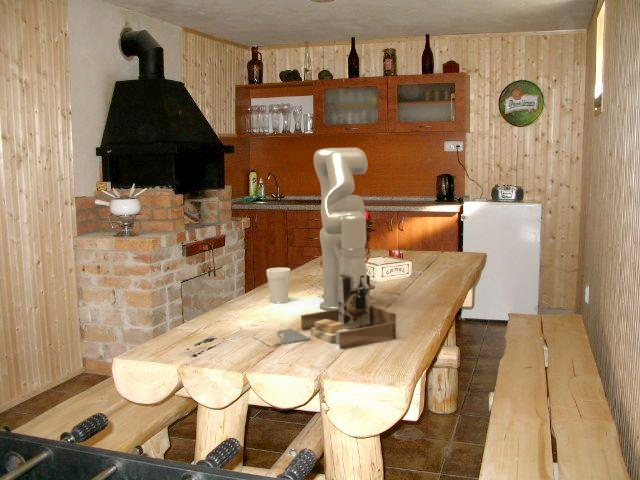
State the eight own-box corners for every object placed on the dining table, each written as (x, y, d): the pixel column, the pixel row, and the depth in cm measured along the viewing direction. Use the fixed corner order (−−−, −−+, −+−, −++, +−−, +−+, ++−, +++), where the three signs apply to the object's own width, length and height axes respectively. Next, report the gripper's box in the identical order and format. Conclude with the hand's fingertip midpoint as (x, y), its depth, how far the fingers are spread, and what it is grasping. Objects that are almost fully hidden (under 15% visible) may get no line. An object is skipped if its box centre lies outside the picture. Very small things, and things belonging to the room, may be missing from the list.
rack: (301, 329, 218) (300, 306, 217) (352, 320, 228) (351, 298, 226) (341, 349, 195) (340, 323, 194) (395, 338, 205) (395, 313, 204)
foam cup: (264, 300, 263) (263, 269, 261) (285, 298, 266) (284, 266, 265) (273, 305, 254) (271, 272, 252) (294, 302, 258) (293, 270, 256)
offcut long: (310, 336, 211) (310, 327, 211) (326, 333, 215) (325, 324, 214) (331, 345, 201) (331, 336, 201) (347, 341, 205) (347, 332, 204)
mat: (252, 336, 212) (252, 335, 212) (290, 329, 218) (290, 328, 218) (270, 347, 199) (270, 345, 199) (310, 339, 206) (310, 338, 206)
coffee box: (344, 327, 209) (343, 278, 207) (338, 321, 215) (337, 274, 213) (370, 324, 212) (370, 275, 209) (364, 319, 218) (363, 271, 215)
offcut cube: (336, 344, 201) (335, 331, 201) (344, 341, 204) (344, 328, 203) (345, 346, 198) (345, 333, 198) (354, 343, 201) (354, 330, 201)
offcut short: (314, 329, 209) (314, 321, 208) (325, 326, 212) (325, 318, 212) (332, 334, 203) (331, 326, 203) (343, 330, 206) (343, 323, 206)
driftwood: (214, 337, 213) (214, 331, 213) (232, 339, 211) (231, 333, 210) (176, 357, 195) (176, 350, 194) (195, 359, 192) (195, 353, 192)
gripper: (329, 250, 215) (330, 302, 218) (357, 258, 200) (358, 314, 203) (349, 247, 219) (349, 298, 222) (378, 255, 204) (378, 310, 207)
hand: (354, 305), depth 212 cm, fingers closed on coffee box, 7 cm apart
